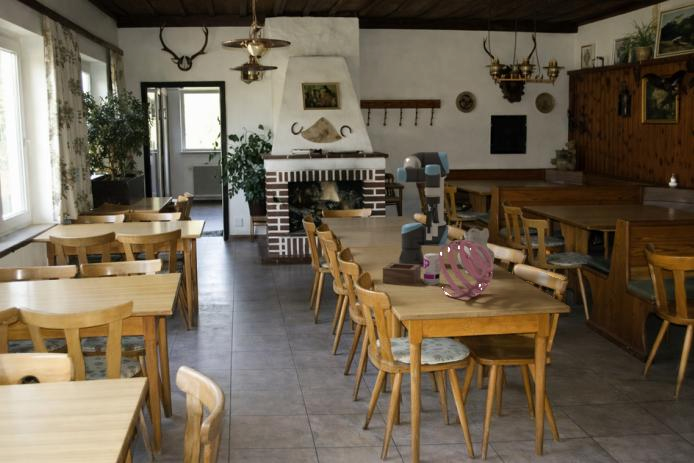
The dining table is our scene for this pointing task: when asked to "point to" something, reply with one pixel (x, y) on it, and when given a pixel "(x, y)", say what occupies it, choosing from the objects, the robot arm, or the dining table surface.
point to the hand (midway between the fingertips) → (432, 238)
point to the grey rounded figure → (480, 239)
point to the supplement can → (431, 269)
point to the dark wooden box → (402, 273)
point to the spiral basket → (467, 268)
